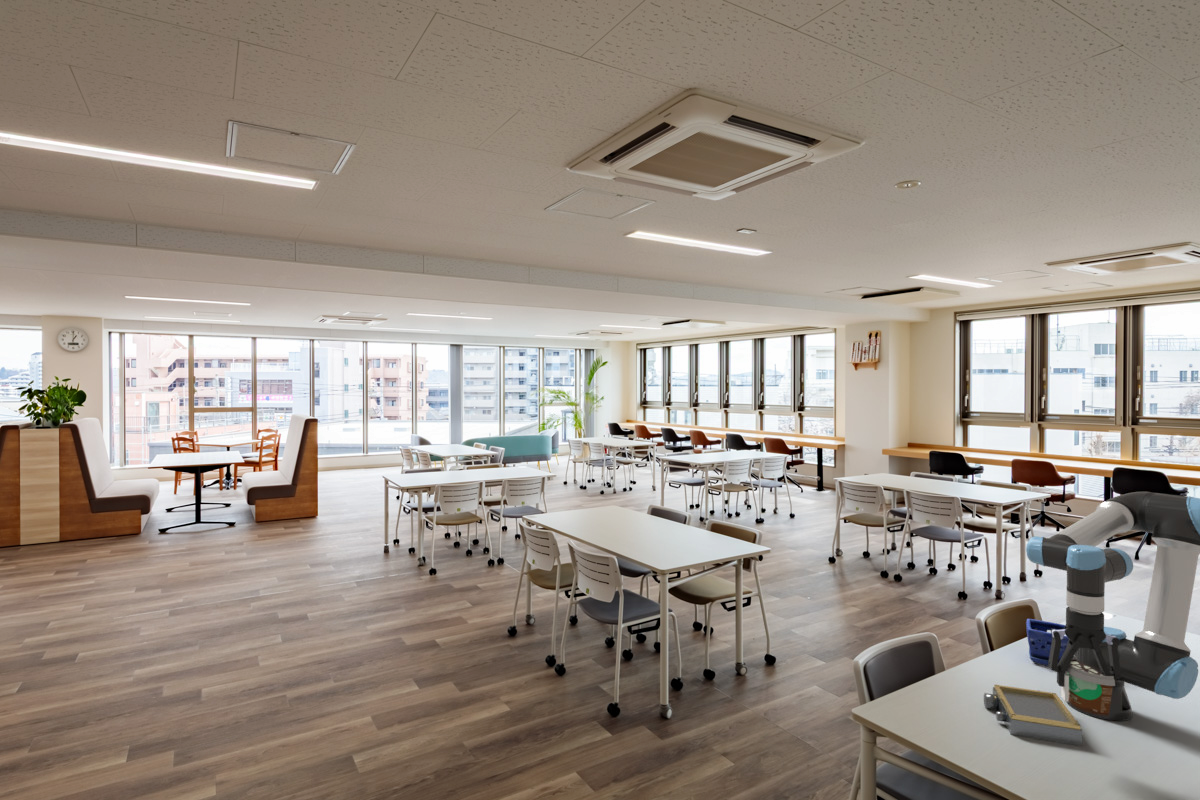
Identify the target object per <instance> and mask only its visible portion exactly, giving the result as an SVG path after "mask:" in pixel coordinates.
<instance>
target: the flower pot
mask: <svg viewBox="0 0 1200 800" xmlns="http://www.w3.org/2000/svg"><path fill="white" fill-rule="evenodd" d="M1025 625H1026V637H1027V642H1028V647H1029V648H1028V653H1029V654H1028V655H1029V659H1030V660H1031V661H1032V663H1034V664H1039V665H1042V666H1047V667H1049V665H1048V662H1049V656H1050V650H1051V644H1052V634H1051V629H1056V630H1062V629H1064V627H1065V626H1066V624H1061V623H1057V622H1052V621H1045V620H1039V619H1034V618H1033V619H1032V618H1027V619H1026V622H1025ZM1048 631H1050V632H1048ZM1068 641H1069V638H1068V637H1067V636H1066V635H1064V636H1063V639H1061V647H1060V653H1059V659H1058V663H1059V661H1060V659H1061V657H1062V655H1063V653H1064V651H1065V649H1066V647H1067V643H1068Z"/></svg>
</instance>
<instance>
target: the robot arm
mask: <svg viewBox="0 0 1200 800" xmlns="http://www.w3.org/2000/svg"><path fill="white" fill-rule="evenodd" d="M1129 531H1136V532H1145V533H1148V534H1149V533H1150V534H1151V539H1152V541H1153V542H1154V543H1155V544H1156V546H1157V548H1156V552H1155V553H1156V554H1155V558H1154V564H1153V565H1154V566H1153V570H1152V577H1151V582H1150V588H1149V594H1148V598H1147V606H1146V611H1145V617H1144V622H1143V628H1142V630H1141V631H1140V632H1137V633H1135V634H1134V636H1133V637H1134V638H1133V640H1131V639H1128V638H1127V633H1126V632H1125V630H1121V629H1119V628H1115V627H1110V626H1105V614H1104V612H1105V591H1106V590H1105V587H1106V583H1109V582H1115V581H1120V580H1122V579H1124V578H1126V577H1128V576H1129V575H1131V573H1132V572H1133V569H1134V563H1133V559H1132V558H1131V556H1130V554H1128V553H1127V552H1126V551H1125V550H1122V549H1119V548H1111V547H1108V548H1107V547H1106V548H1100V547H1098V546H1099V545H1100V544H1101V543H1104V542H1105V541H1107V540H1109V539H1111V538H1112V537H1113V536H1115V535H1117V534H1124V533H1125V534H1126V533H1127V532H1129ZM1025 547H1026V548H1025V552H1026V557H1027V559H1028V560H1029V561H1030V562H1031V563H1033V564H1036V565H1040V566H1042V567H1047V568H1048V567H1049V568H1052V569H1058V570H1060V571H1061V570H1062V571H1065V572H1066V599H1065V600H1066V601H1065V602H1066V604H1065V605H1066V606H1067V607H1066V608H1065V625H1066V626H1065V627H1064V629H1062V630H1056V629H1051V631H1050V633H1051V634H1052V644H1051V650H1050V656H1049V662H1048V665H1049V666H1048V667H1049V669H1051V671H1053V672H1056V683H1057V685H1058V686H1059V687H1060V688H1061V689H1060V696H1061V697H1060V698H1061V699H1062V700H1063V701H1064V702H1065V703H1066V704H1067V705H1068V706H1070V707H1071V708H1073V709H1075V710H1076V711H1078V712H1081V713H1082V714H1086V715H1087V716H1092V717H1095V718H1099V719H1103V720H1107V721H1108V720H1109V721H1128V720H1131V718H1132V713H1133V711H1132V709H1133V708H1132V706H1131V703H1130V700H1129V697H1128V695H1127V694H1128V693H1127V691H1126V687H1125V683H1126V684H1129V685H1132V686H1135V687H1137V688H1140V689H1143V690H1146V691H1149V692H1152V693H1154V694H1156V695H1160V696H1163V697H1168V698H1171V699H1173V700H1175V699H1176V700H1179V699H1183V698H1185V697H1186V696H1188V695H1189V694H1190V692H1191V691H1192V690H1193V689H1194V686H1195V685H1196V682H1197V680H1198V675H1199V664H1198V662H1197V661H1196V659H1194V658H1193V657H1192V656H1191V649H1190V648H1189V646H1188V645H1187V644H1186V643H1185V639H1186V634H1187V626H1188V623H1189V621H1188V620H1189V615H1190V609H1191V602H1192V599H1193V598H1192V597H1193V591H1194V584H1195V579H1196V574H1197V573H1196V572H1197V566H1198V561H1199V555H1200V497H1194V496H1185V495H1178V494H1169V493H1159V492H1151V491H1135V492H1133V491H1132V492H1128V493H1125V494H1119V495H1117V496H1114V497H1112V498H1109V499H1106V500H1105V501H1102V502H1101V503H1100V504H1098V505H1097V506H1096V508H1095V511H1093V512H1092V513H1090V514H1088V515H1085V517H1082V518H1081V519H1079V520H1077V522H1075V523H1072V524H1071V525H1069V526H1067V527H1066V528H1065V527H1064V529H1062V530H1060V531H1059V532H1057V533H1055V534H1052V535H1051V536H1050V537H1045V536H1032V537H1031V538H1030V539H1029V540H1028V542H1027V543H1026V546H1025ZM1063 636H1067V637H1068V638H1069V641H1068V643H1067V647H1066V649H1065V651H1064V653H1063V655H1062V657H1061V659H1060V661H1059V663H1058V659H1059V653H1060V647H1061V639H1063ZM1074 656H1077V661H1079V662H1081V663H1083V664H1085V665H1087V666H1090V667H1093V668H1095V669H1096V670H1097V671H1099V672H1100V673H1101V674H1103V675H1105V676H1114V680H1115V686H1113V688H1112V695H1111V703H1110V710H1109V716H1105V715H1097V714H1092V713H1089V712H1085V711H1083V710H1080V709H1078V708H1076V707H1074V706H1073V705H1072V704H1071V703H1070V702H1069V675H1068V674H1067V672H1066V671H1067V669H1068V667H1069V665H1070V663H1071V661H1072V659H1073V657H1074Z"/></svg>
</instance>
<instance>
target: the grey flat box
mask: <svg viewBox="0 0 1200 800" xmlns="http://www.w3.org/2000/svg"><path fill="white" fill-rule="evenodd" d="M1060 698H1061V697H1059V696H1058V694H1057V693H1056V692H1050V691H1049V692H1048V691H1042V690H1035V689H1029V688H1023V687H1022V688H1021V687H1014V686H1008V685H1007V686H1006V685H1000V684H994V685H993V686H992V693H988V692H984V694H983V705H984V707H985V709H990V710H996V711H995V719H996V721H997V722H1003V723H1004V725H1005V726H1006V729H1007V731H1008V733H1009V734H1010V735H1014V736H1018V737H1025V738H1031V739H1036V740H1037V739H1038V740H1043V741H1047V742H1048V741H1050V742H1054V743H1060V744H1061V743H1062V744H1067V745H1073V746H1074V745H1075V746H1080V747H1082V746H1083V729H1082V728H1081V725H1080V723H1079V722H1078V721H1077V720H1076V718H1075V717H1074V716H1073V714H1072V713H1071V712H1070V710H1069V709H1068V708H1067V706H1066V705H1065V703H1064V702H1063V701H1062V699H1060Z"/></svg>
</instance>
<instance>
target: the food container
mask: <svg viewBox="0 0 1200 800" xmlns="http://www.w3.org/2000/svg"><path fill="white" fill-rule="evenodd" d="M1066 673H1067V674H1068V675H1069V702H1070V703H1071V704H1072V705H1073V706H1074V707H1076V708H1078V709H1080V710H1083V711H1085V712H1089V713H1092V714H1097V715H1105V716H1109V710H1110V703H1111V695H1112V688H1113V686H1115V680H1114V676H1105V675H1103V674H1101V673H1100V672H1099V671H1097V670H1096V669H1095V668H1093V667H1090V666H1087V665H1085V664H1083V663H1081V662H1079V661H1077V656H1074V657H1073V659H1072V661H1071V663H1070V665H1069V667H1068V669H1067V671H1066Z"/></svg>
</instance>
